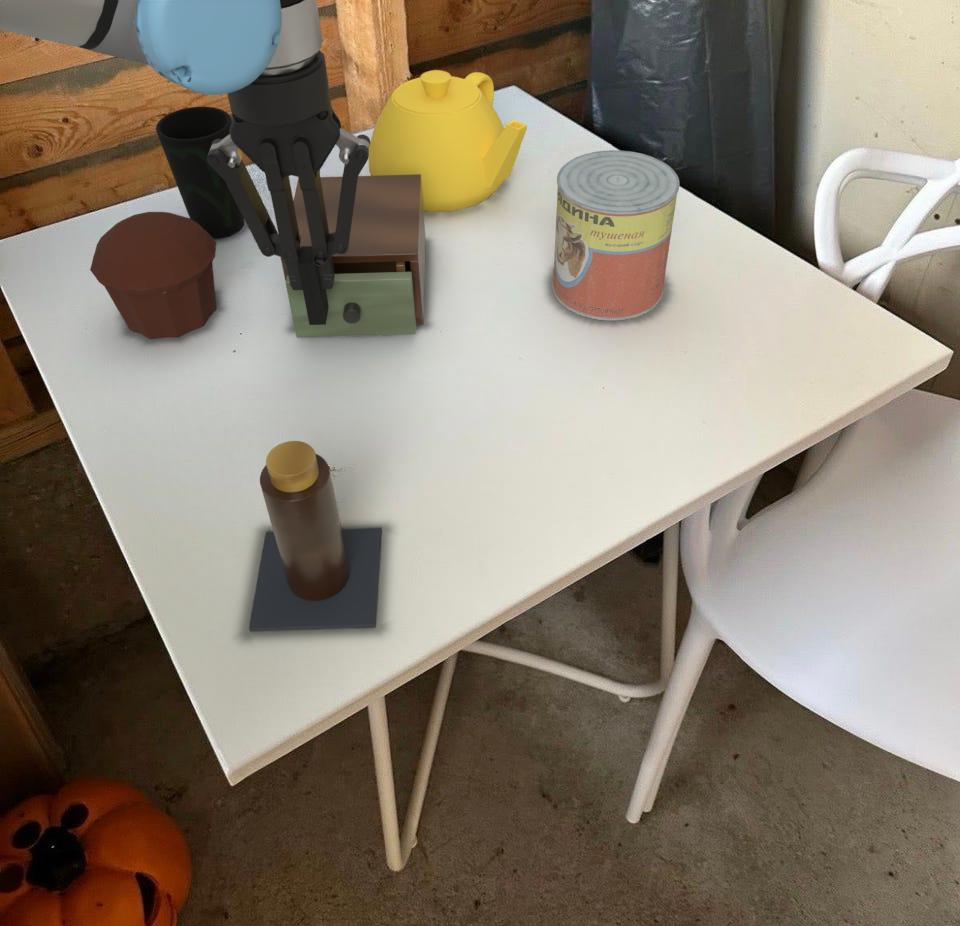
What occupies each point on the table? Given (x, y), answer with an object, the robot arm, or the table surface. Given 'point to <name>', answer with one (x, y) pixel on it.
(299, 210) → the cabinet
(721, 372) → the table surface
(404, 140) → the teapot
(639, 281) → the canned food
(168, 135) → the cup
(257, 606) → the mat
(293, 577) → the bottle
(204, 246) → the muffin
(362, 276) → the drawer
